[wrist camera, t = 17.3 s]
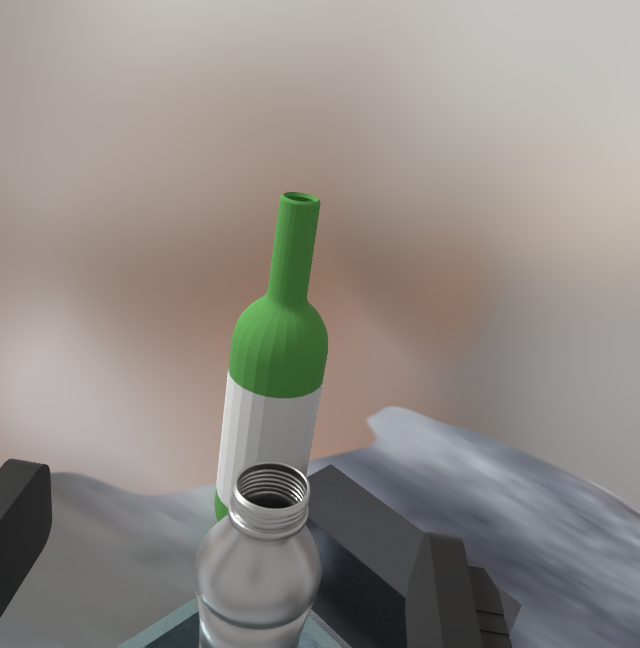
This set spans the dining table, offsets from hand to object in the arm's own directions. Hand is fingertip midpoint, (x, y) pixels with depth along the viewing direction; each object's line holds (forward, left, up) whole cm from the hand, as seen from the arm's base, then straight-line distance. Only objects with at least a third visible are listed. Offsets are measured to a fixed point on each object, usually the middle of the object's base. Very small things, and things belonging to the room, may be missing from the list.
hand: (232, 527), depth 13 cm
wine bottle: (+24, +23, -31) cm, 46 cm away
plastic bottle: (+10, +8, -30) cm, 33 cm away
